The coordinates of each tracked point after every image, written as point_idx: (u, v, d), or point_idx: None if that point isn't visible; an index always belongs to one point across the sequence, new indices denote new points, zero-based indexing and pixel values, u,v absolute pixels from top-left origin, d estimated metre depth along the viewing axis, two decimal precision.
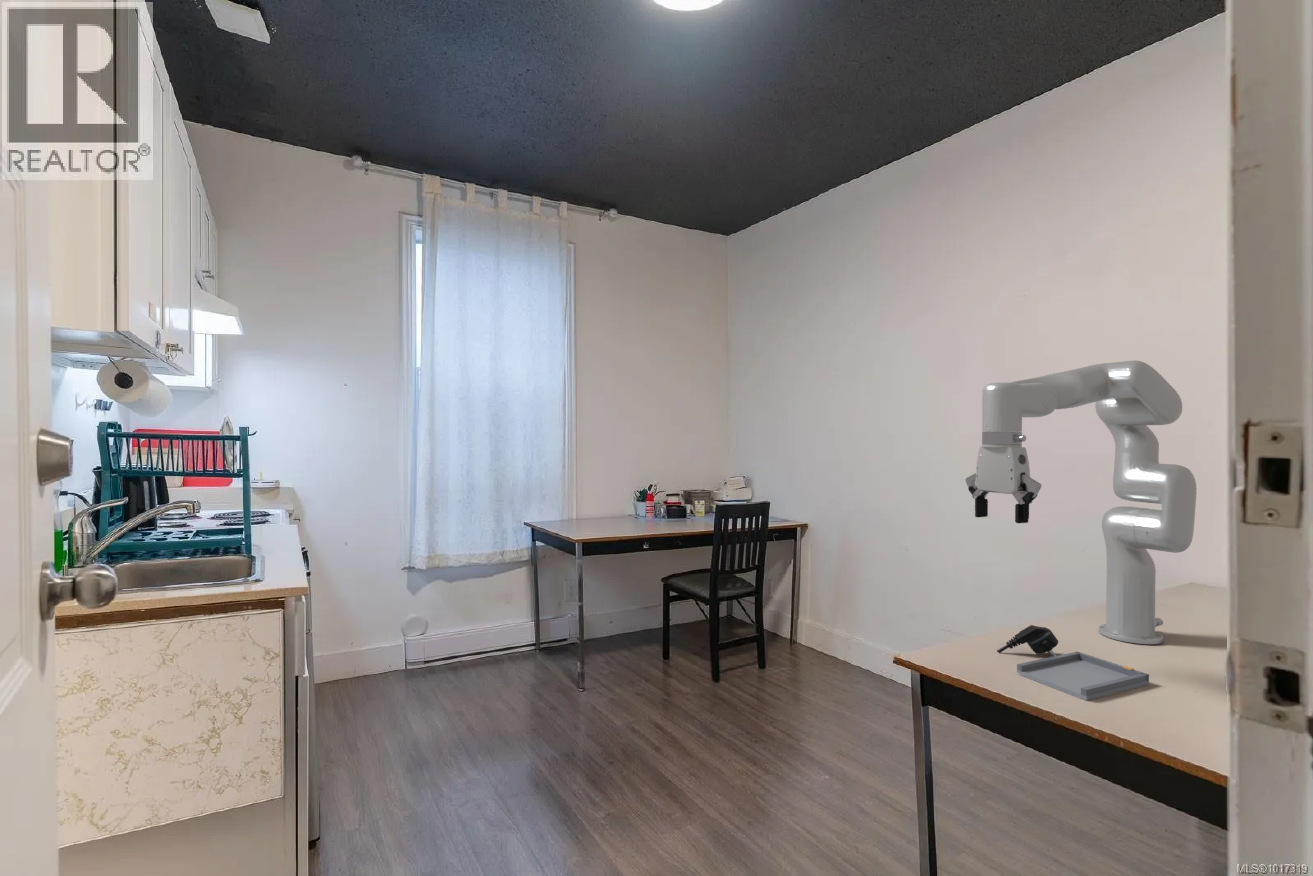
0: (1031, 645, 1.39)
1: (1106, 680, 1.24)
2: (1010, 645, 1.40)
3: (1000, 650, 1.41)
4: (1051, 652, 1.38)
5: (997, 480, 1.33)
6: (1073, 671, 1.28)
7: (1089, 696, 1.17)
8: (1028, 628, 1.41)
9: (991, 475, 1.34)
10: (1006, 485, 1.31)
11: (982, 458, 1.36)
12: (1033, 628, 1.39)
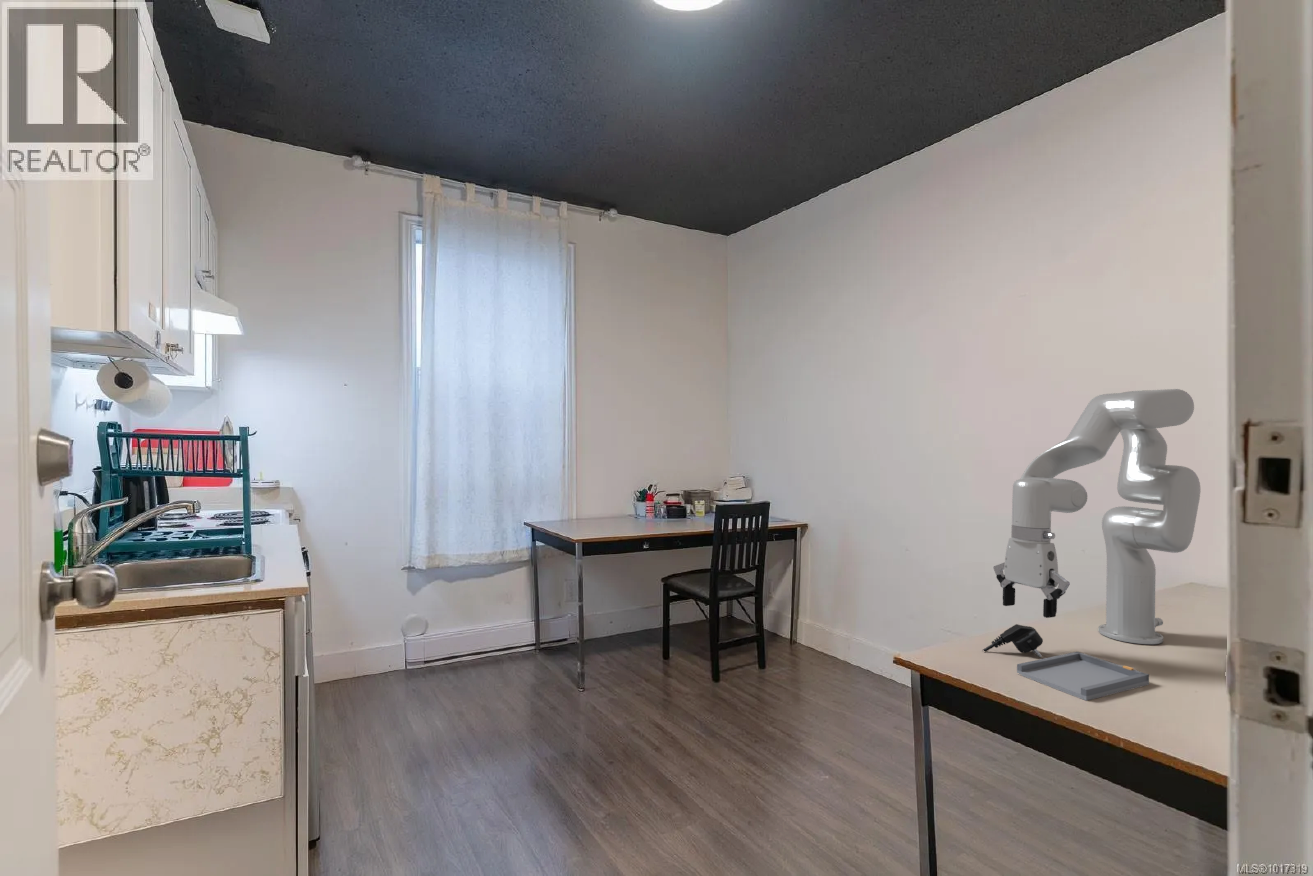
0: (1016, 644, 1.40)
1: (1106, 680, 1.24)
2: (995, 644, 1.41)
3: (985, 649, 1.42)
4: (1036, 651, 1.39)
5: (1026, 574, 1.38)
6: (1073, 671, 1.28)
7: (1089, 696, 1.17)
8: (1013, 627, 1.41)
9: (1020, 568, 1.39)
10: (1035, 580, 1.36)
11: (1011, 550, 1.42)
12: (1018, 627, 1.40)
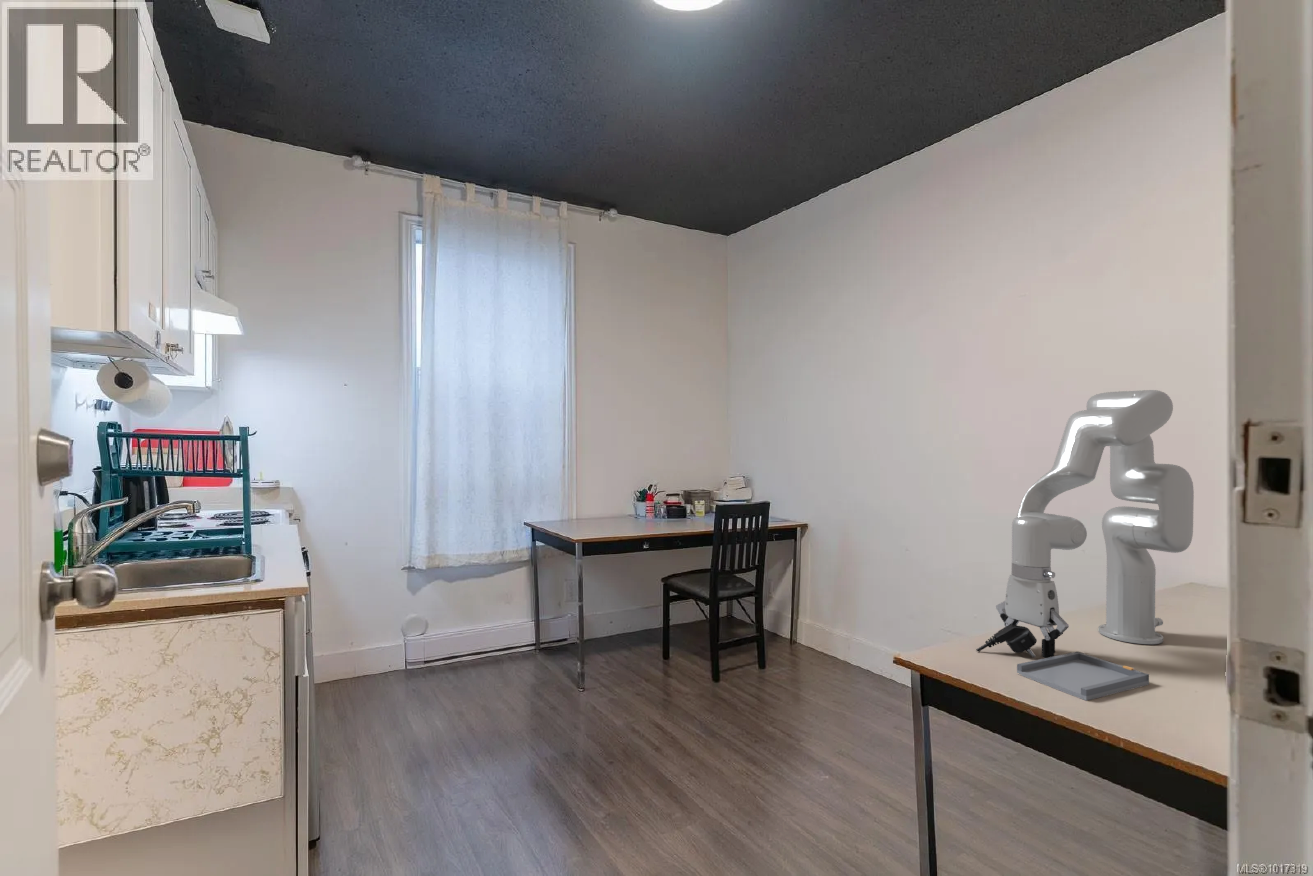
0: (1010, 644, 1.40)
1: (1106, 680, 1.24)
2: (989, 644, 1.41)
3: (979, 649, 1.42)
4: (1029, 651, 1.38)
5: (1027, 612, 1.38)
6: (1073, 671, 1.28)
7: (1089, 696, 1.17)
8: (1007, 627, 1.41)
9: (1021, 606, 1.40)
10: (1036, 618, 1.37)
11: (1011, 587, 1.42)
12: (1012, 627, 1.40)
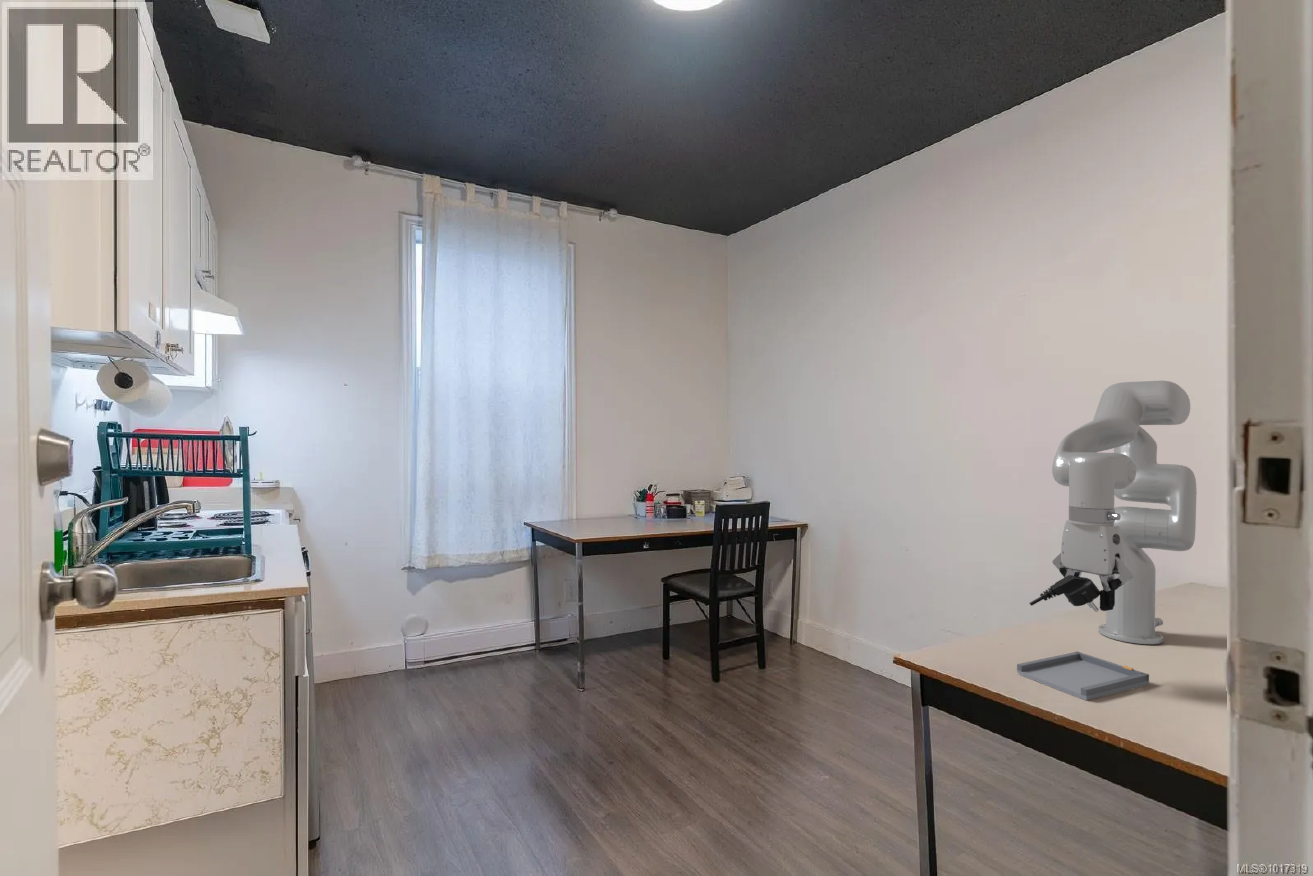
0: (1068, 596, 1.24)
1: (1106, 680, 1.24)
2: (1044, 597, 1.26)
3: (1033, 602, 1.27)
4: (1092, 604, 1.23)
5: (1088, 560, 1.24)
6: (1073, 671, 1.28)
7: (1089, 696, 1.17)
8: (1065, 578, 1.26)
9: (1080, 554, 1.25)
10: (1098, 566, 1.22)
11: (1069, 534, 1.27)
12: (1071, 578, 1.25)
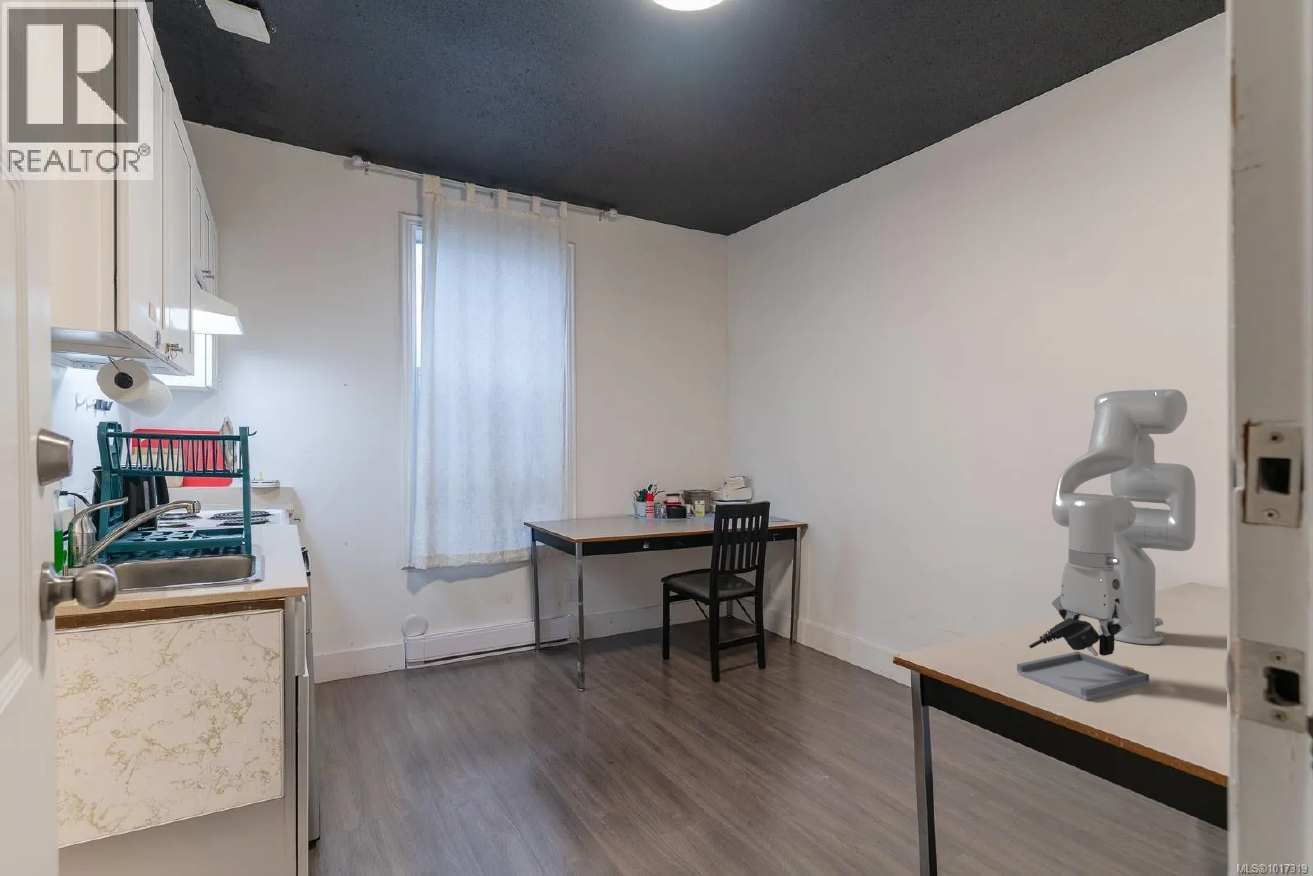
0: (1068, 640, 1.24)
1: (1106, 680, 1.24)
2: (1044, 640, 1.26)
3: (1032, 645, 1.27)
4: (1091, 649, 1.23)
5: (1088, 604, 1.24)
6: (1073, 671, 1.28)
7: (1089, 696, 1.17)
8: (1065, 621, 1.26)
9: (1080, 597, 1.25)
10: (1098, 611, 1.22)
11: (1068, 576, 1.27)
12: (1071, 621, 1.25)
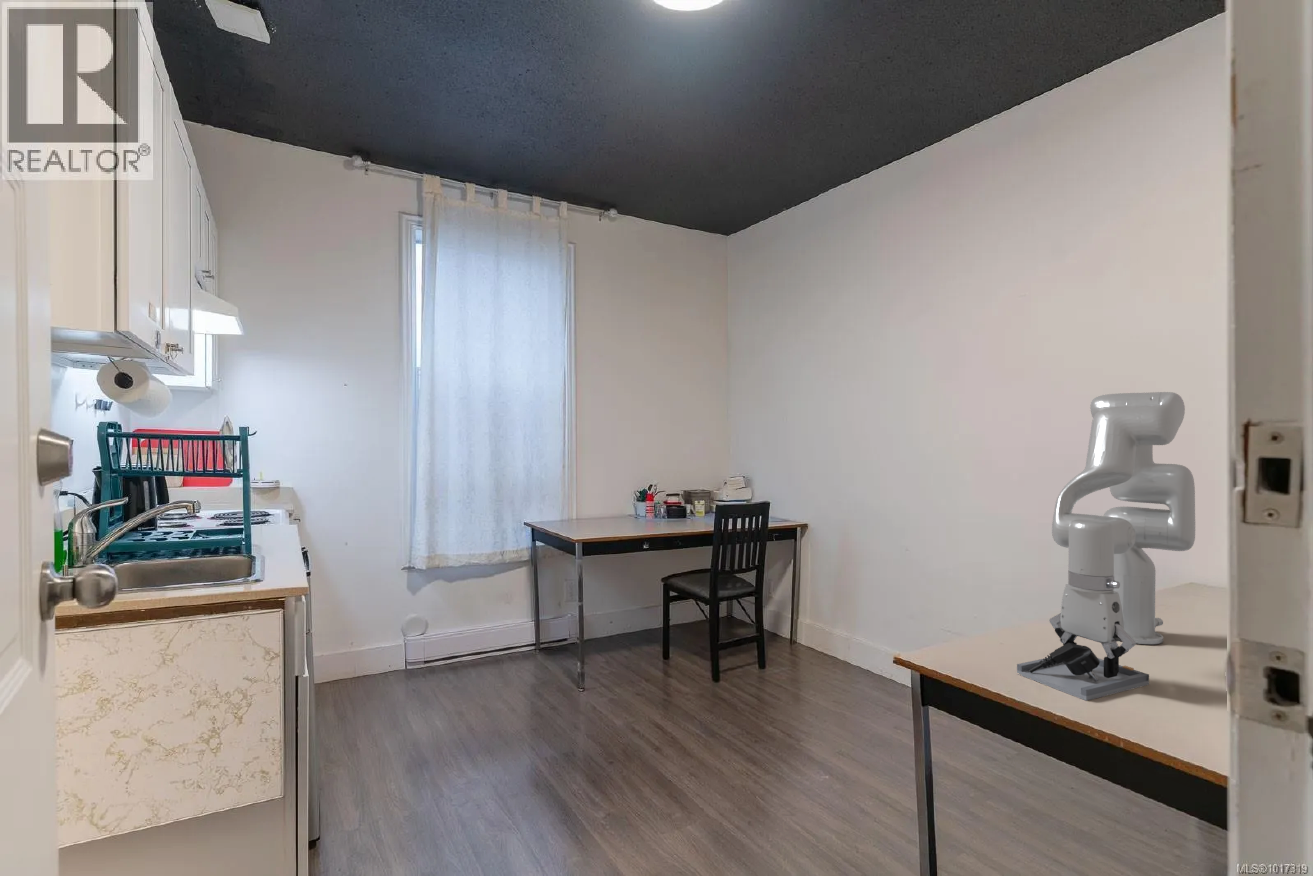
0: (1068, 665, 1.25)
1: (1106, 680, 1.24)
2: (1044, 664, 1.26)
3: (1032, 669, 1.27)
4: (1091, 674, 1.23)
5: (1087, 626, 1.24)
6: None
7: (1089, 696, 1.17)
8: (1065, 646, 1.26)
9: (1080, 619, 1.25)
10: (1098, 634, 1.22)
11: (1068, 598, 1.27)
12: (1070, 646, 1.25)
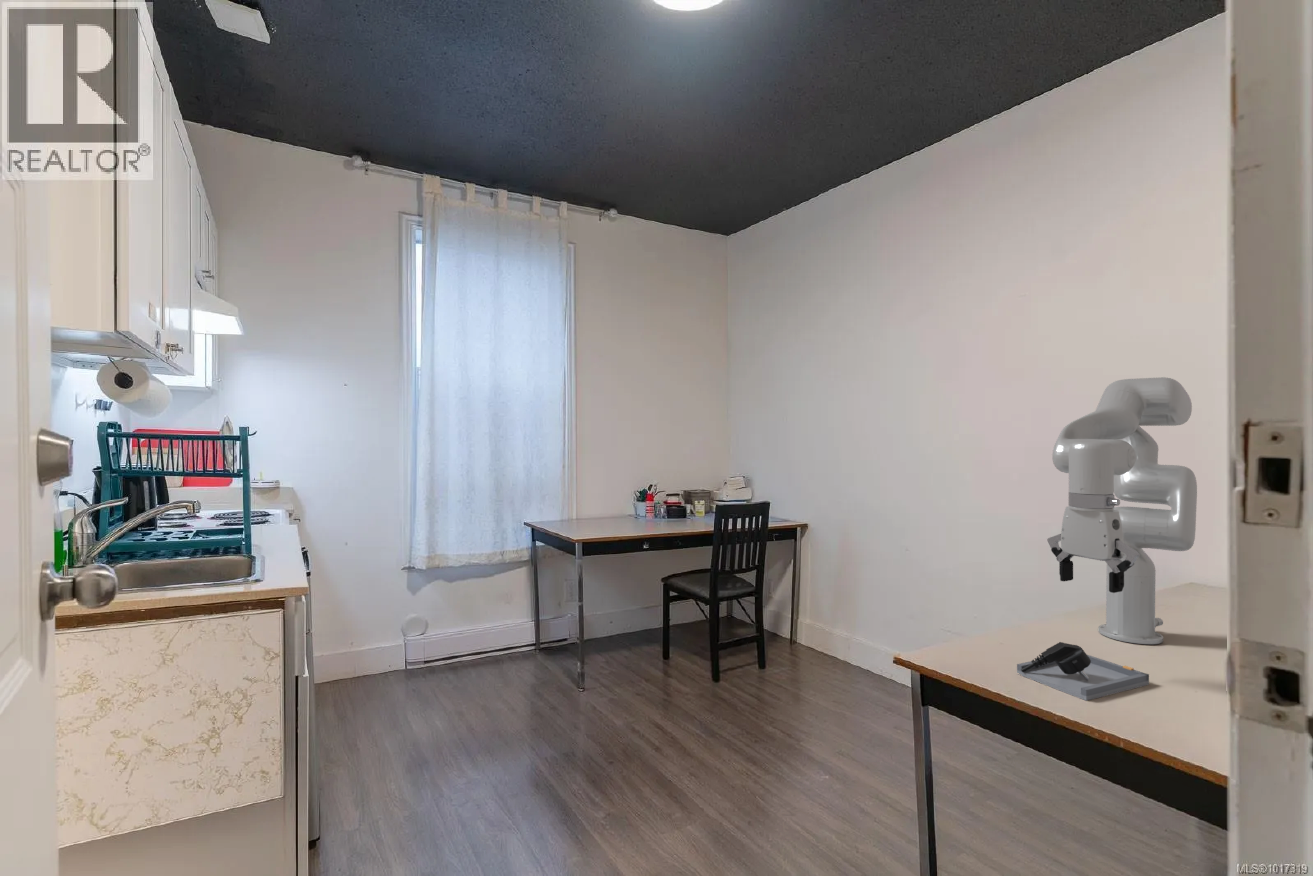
0: (1060, 664, 1.25)
1: (1106, 680, 1.24)
2: (1036, 664, 1.27)
3: (1024, 669, 1.27)
4: (1082, 673, 1.24)
5: (1088, 545, 1.25)
6: None
7: (1089, 696, 1.17)
8: (1056, 645, 1.27)
9: (1080, 539, 1.26)
10: (1098, 551, 1.23)
11: (1069, 520, 1.28)
12: (1062, 646, 1.25)
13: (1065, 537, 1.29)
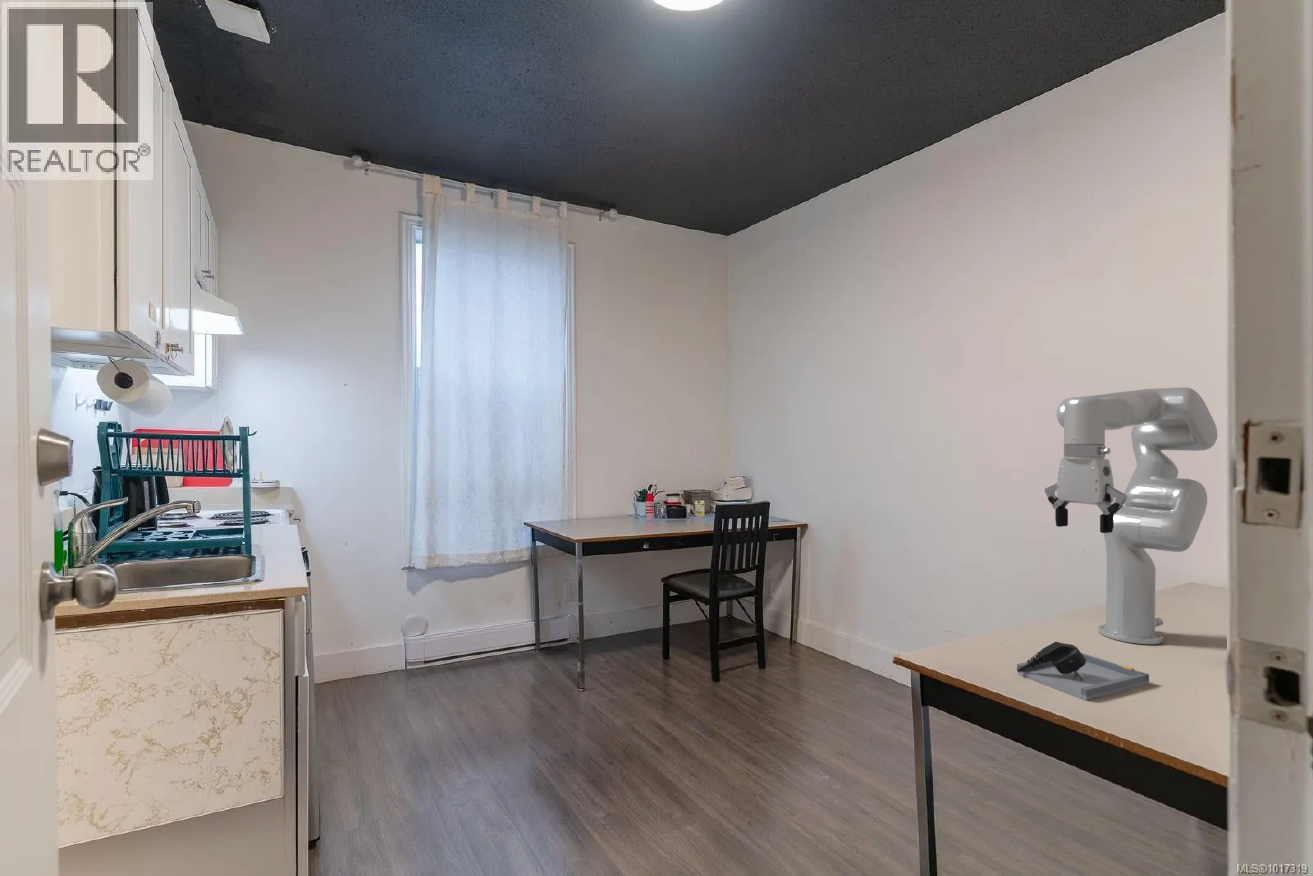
0: (1055, 664, 1.25)
1: (1106, 680, 1.24)
2: (1032, 664, 1.27)
3: (1020, 669, 1.28)
4: (1078, 672, 1.24)
5: (1081, 491, 1.37)
6: None
7: (1089, 696, 1.17)
8: (1052, 645, 1.27)
9: (1074, 486, 1.39)
10: (1090, 496, 1.36)
11: (1064, 469, 1.41)
12: (1058, 645, 1.25)
13: (1060, 485, 1.42)
